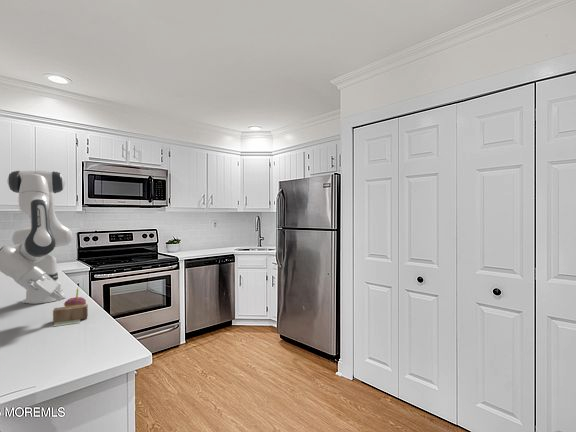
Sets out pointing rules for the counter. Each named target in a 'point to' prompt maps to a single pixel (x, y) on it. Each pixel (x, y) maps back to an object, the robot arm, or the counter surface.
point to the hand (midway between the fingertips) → (61, 298)
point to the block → (70, 313)
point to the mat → (66, 322)
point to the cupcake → (75, 301)
